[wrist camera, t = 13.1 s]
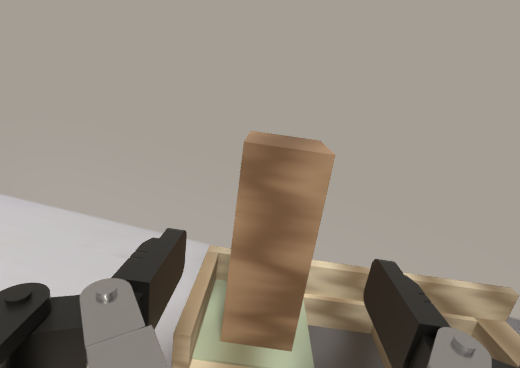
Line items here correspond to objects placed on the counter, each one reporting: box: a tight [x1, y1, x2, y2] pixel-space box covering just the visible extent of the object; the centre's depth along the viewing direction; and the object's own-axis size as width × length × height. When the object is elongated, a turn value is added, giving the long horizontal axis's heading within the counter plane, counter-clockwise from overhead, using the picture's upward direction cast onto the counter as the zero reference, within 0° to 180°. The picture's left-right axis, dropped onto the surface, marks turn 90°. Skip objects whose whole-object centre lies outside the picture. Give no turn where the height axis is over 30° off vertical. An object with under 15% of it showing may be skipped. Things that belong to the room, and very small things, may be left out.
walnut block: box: [220, 131, 335, 352], centre depth 20 cm, size 5×5×14 cm
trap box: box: [172, 246, 520, 368], centre depth 22 cm, size 28×10×6 cm, turn 88°
